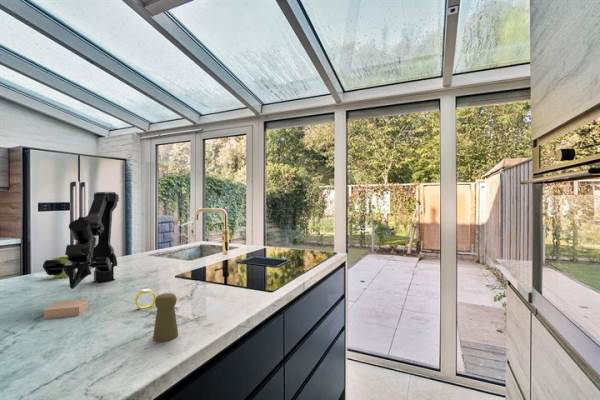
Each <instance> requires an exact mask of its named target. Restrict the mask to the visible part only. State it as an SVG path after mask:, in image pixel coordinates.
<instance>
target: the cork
mask: <svg viewBox="0 0 600 400" xmlns="http://www.w3.org/2000/svg"><path fill="white" fill-rule="evenodd" d="M177 298H178V297H177V295H175V293H171V292H165V293H161V294H158V295H157V296H156V299H155V303H154V305H155V307H156V315H155V321H154V329H153V335H152V339H153V341H154V342H160V343H162V342H163V343H164V342H169V341H172V340H174V339H177V338H178V336H179V331H178V323H177V315H176V309H175V306H176V304H177V301H178V299H177Z"/></svg>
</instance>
